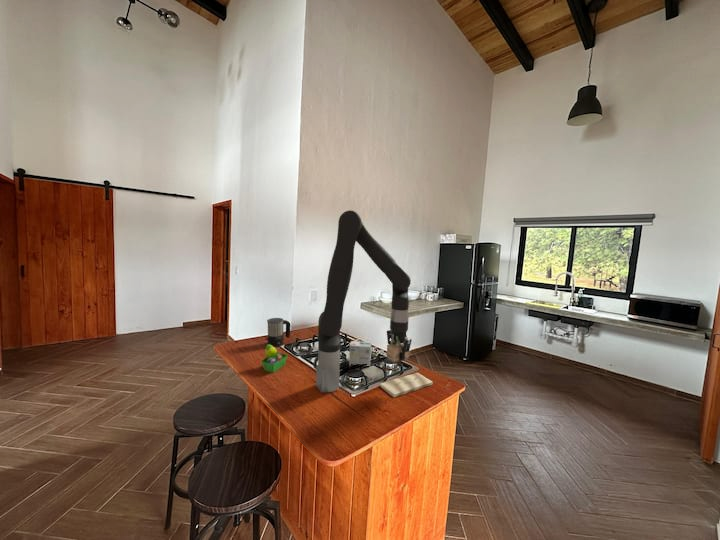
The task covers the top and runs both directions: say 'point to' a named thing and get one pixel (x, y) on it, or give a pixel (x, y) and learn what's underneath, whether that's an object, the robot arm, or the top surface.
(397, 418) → the top surface
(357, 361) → the light bulb box
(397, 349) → the block
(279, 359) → the fruit basket
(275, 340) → the milk frother
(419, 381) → the board
